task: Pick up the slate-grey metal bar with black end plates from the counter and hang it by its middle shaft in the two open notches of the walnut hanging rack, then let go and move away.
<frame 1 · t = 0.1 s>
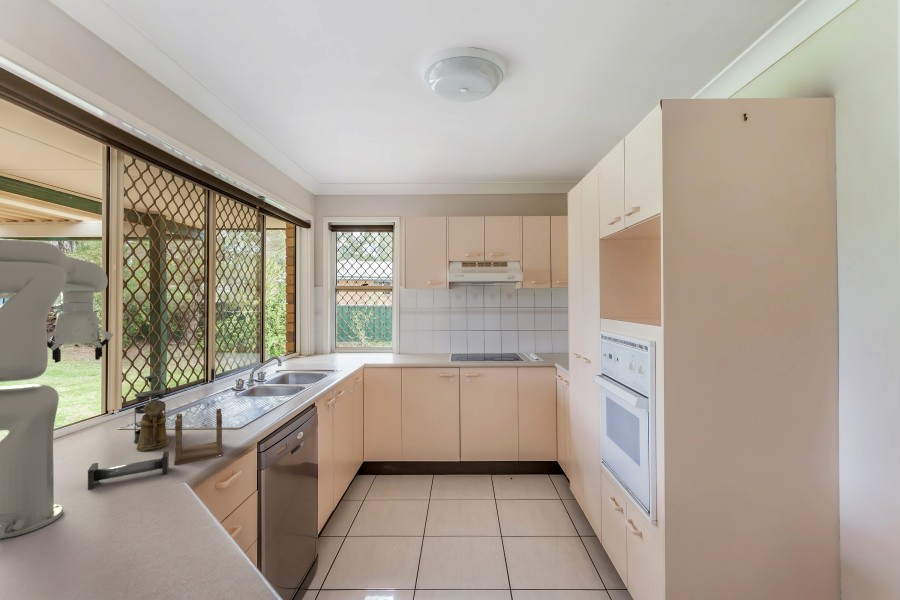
hand: (78, 360, 127), 31 cm above the countertop, tool pointing down, fingers open, 9 cm apart
hanging bar: (130, 478, 112), on the countertop
hanging rack: (199, 453, 129), on the countertop
brown carved statue: (153, 449, 134), on the countertop
french press: (150, 439, 143), on the countertop
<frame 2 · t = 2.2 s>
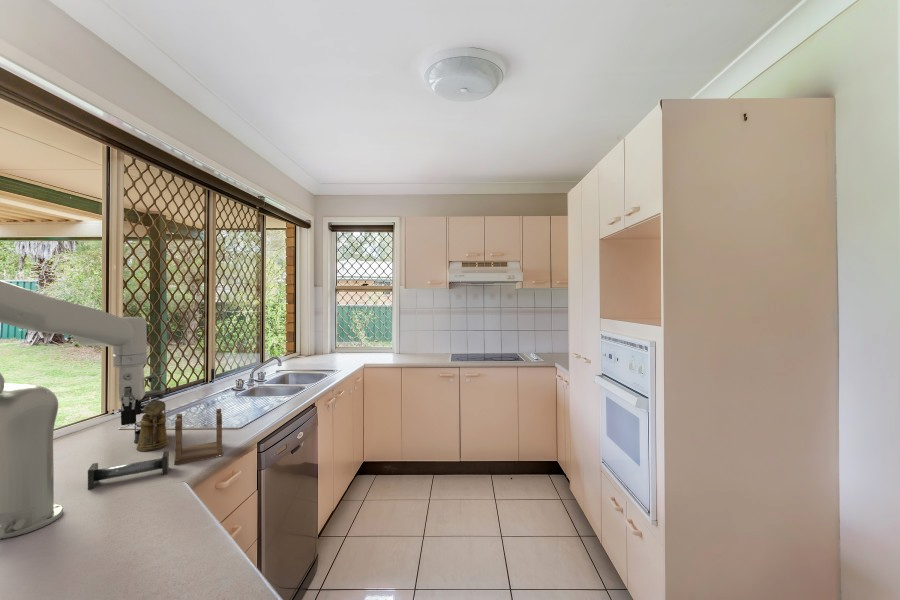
hand: (131, 419, 112), 17 cm above the countertop, tool pointing down, fingers open, 9 cm apart
nothing on the countertop moved.
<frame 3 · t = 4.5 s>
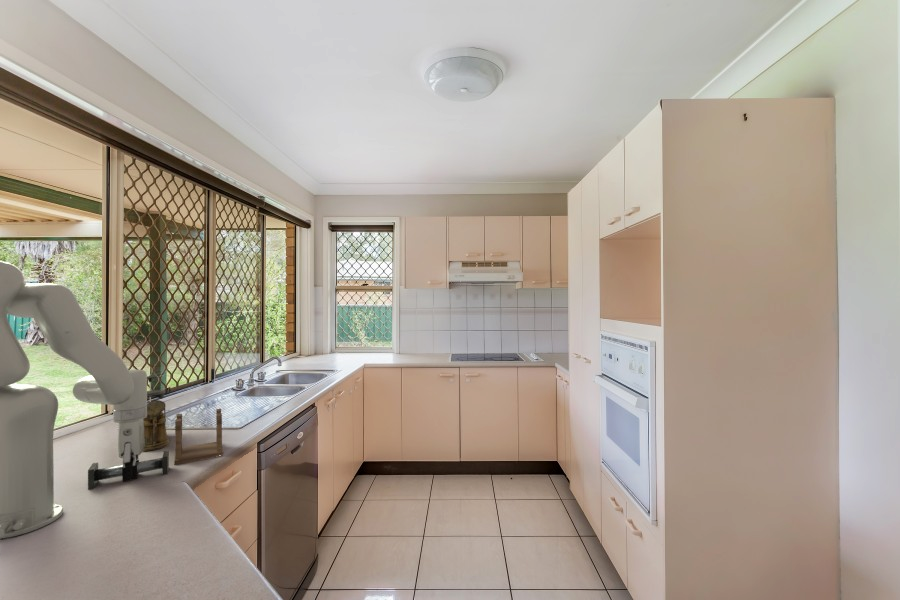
hand: (130, 476, 112), 0 cm above the countertop, tool pointing down, fingers closed on hanging bar, 3 cm apart
hanging bar: (130, 477, 112), on the countertop, touching gripper
everything else where it was.
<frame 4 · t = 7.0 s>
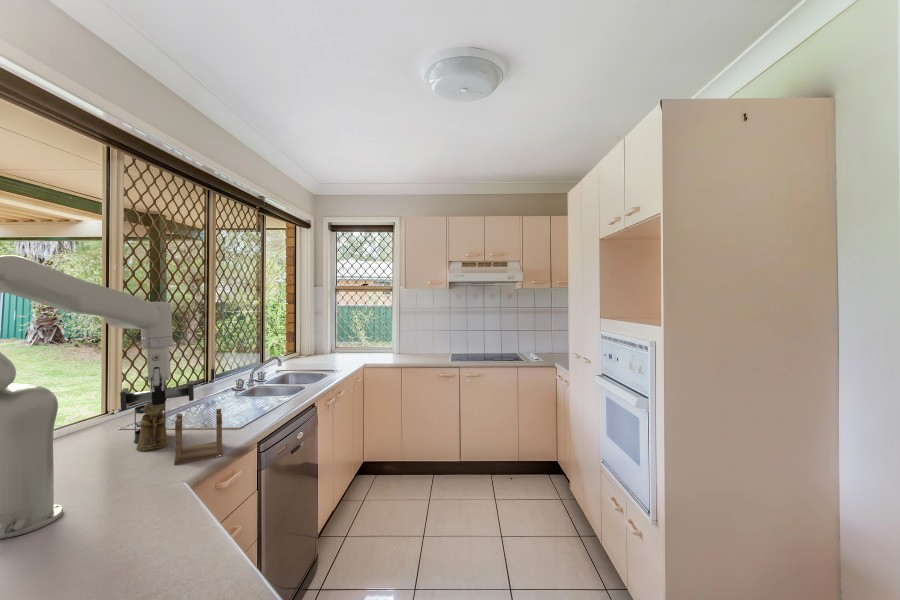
hand: (159, 402, 119), 20 cm above the countertop, tool pointing down, fingers closed on hanging bar, 3 cm apart
hanging bar: (159, 403, 119), point 20 cm above the countertop, touching gripper
everything else where it was.
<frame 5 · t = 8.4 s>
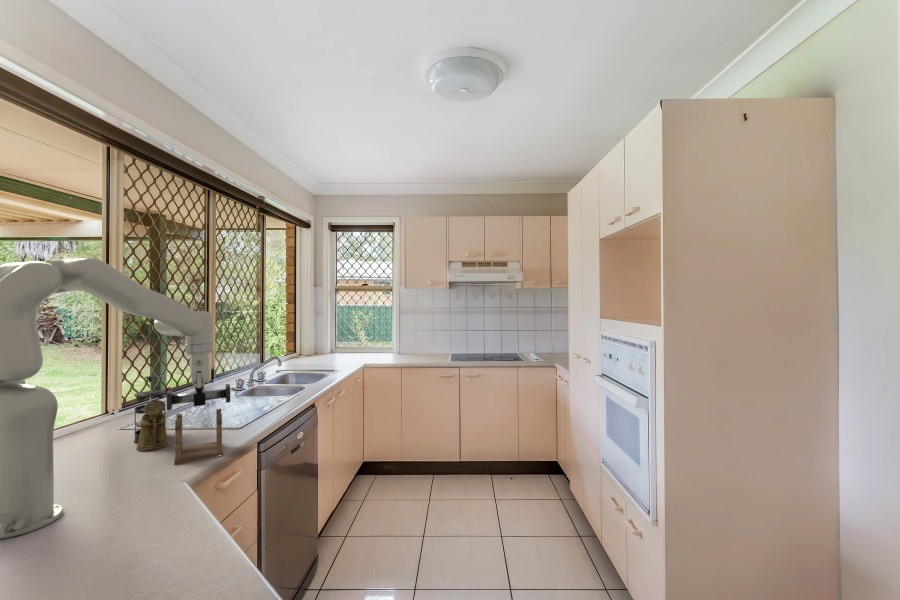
hand: (199, 403, 129), 17 cm above the countertop, tool pointing down, fingers closed on hanging bar, 3 cm apart
hanging bar: (199, 404, 129), point 16 cm above the countertop, touching gripper
everything else where it was.
when the fingers open (10 cm above the countertop, at t = 9.7 s): hanging bar stays where it is, resting on hanging rack.
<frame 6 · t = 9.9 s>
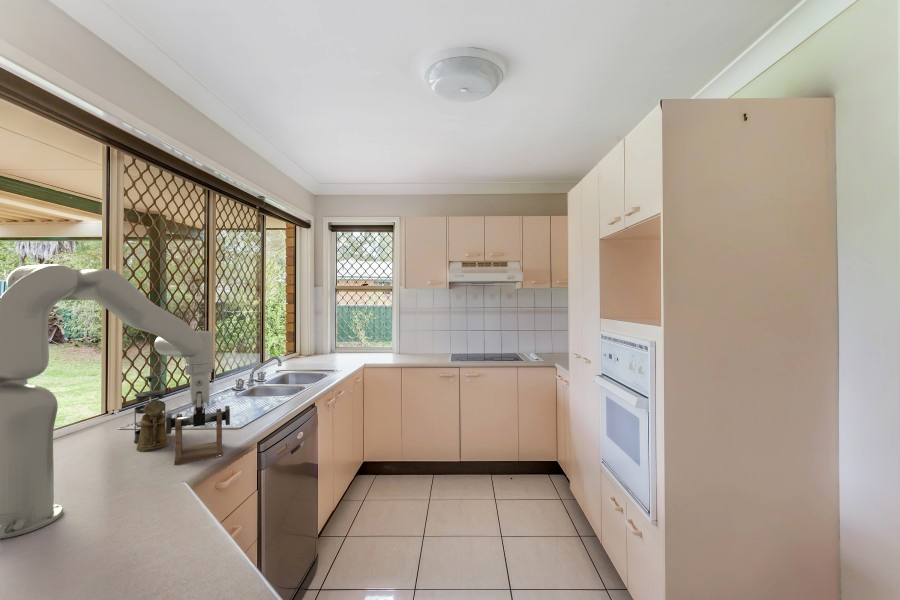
hand: (199, 422, 129), 10 cm above the countertop, tool pointing down, fingers open, 4 cm apart
hanging bar: (199, 427, 129), point 9 cm above the countertop, touching hanging rack
everything else where it was.
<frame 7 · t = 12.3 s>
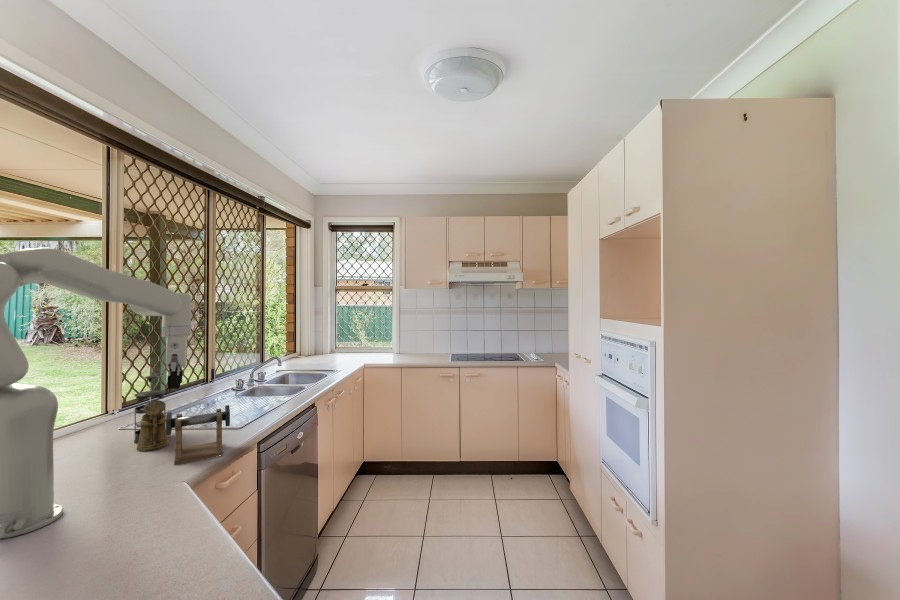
hand: (174, 385, 123), 24 cm above the countertop, tool pointing down, fingers open, 9 cm apart
hanging bar: (199, 426, 129), point 9 cm above the countertop, tilted 12°, touching hanging rack
everything else where it was.
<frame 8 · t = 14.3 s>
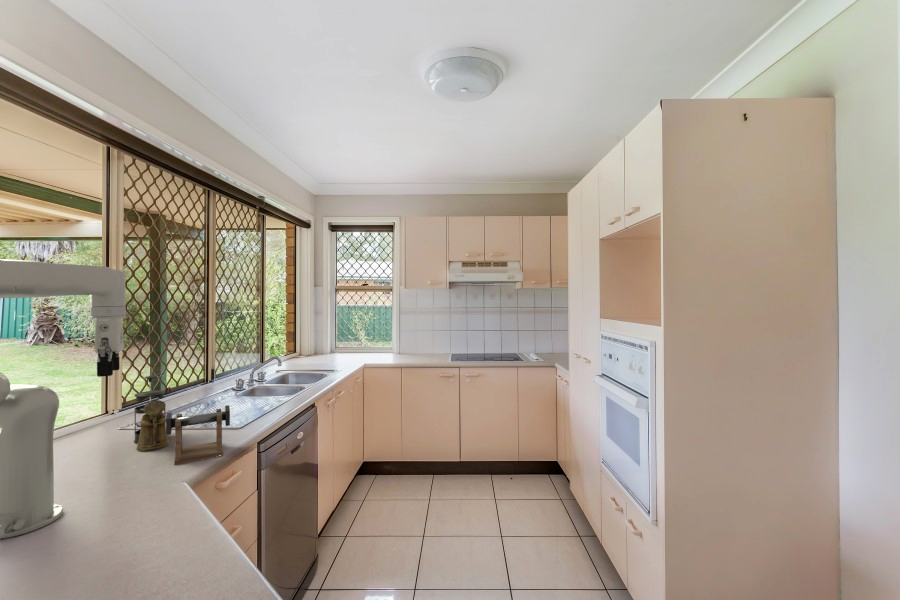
hand: (108, 373, 111), 30 cm above the countertop, tool pointing down, fingers open, 9 cm apart
nothing on the countertop moved.
at the end: hanging bar 0.1 cm off-centre on the hanging rack, point 8.9 cm above the hanging rack's base; hanging bar tilted 6°; the gripper is holding nothing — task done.
